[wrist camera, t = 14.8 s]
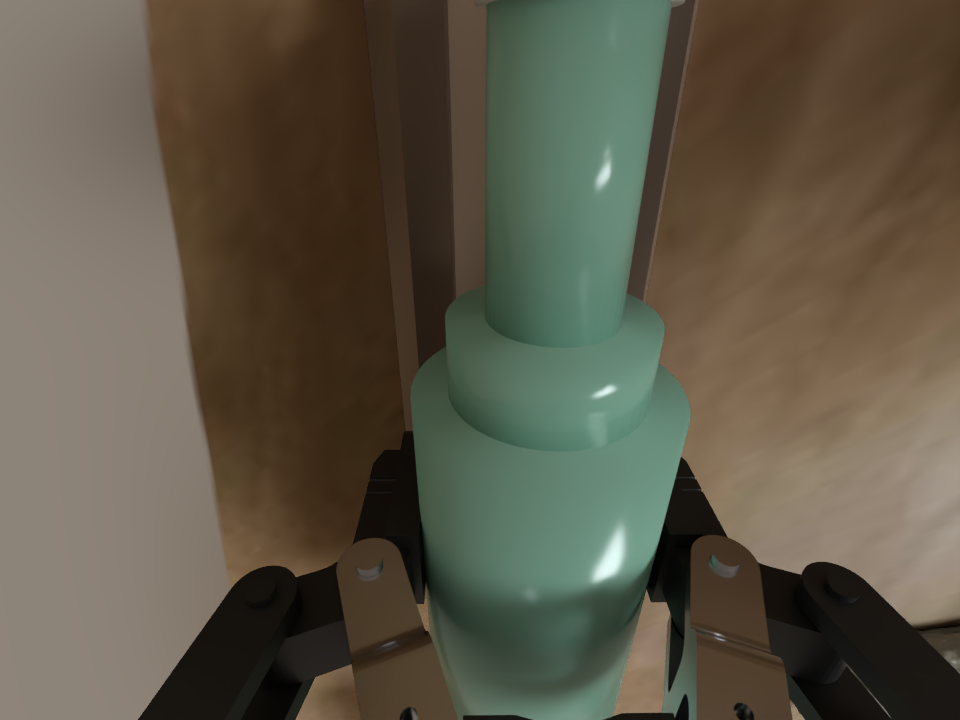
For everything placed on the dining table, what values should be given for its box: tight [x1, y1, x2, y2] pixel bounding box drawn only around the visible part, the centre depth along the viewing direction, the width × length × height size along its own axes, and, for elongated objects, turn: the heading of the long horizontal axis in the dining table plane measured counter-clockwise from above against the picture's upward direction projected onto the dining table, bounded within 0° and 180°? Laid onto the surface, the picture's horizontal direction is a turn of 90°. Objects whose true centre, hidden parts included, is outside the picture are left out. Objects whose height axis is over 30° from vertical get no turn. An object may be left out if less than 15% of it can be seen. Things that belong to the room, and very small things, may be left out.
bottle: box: [410, 0, 691, 720], centre depth 11 cm, size 5×5×20 cm
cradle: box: [363, 0, 699, 599], centre depth 17 cm, size 8×24×4 cm, turn 0°
